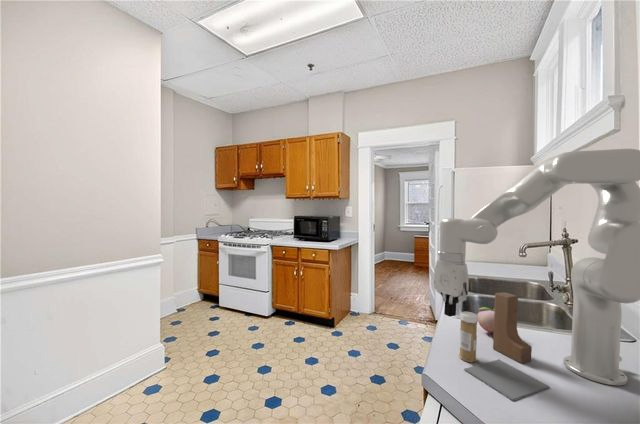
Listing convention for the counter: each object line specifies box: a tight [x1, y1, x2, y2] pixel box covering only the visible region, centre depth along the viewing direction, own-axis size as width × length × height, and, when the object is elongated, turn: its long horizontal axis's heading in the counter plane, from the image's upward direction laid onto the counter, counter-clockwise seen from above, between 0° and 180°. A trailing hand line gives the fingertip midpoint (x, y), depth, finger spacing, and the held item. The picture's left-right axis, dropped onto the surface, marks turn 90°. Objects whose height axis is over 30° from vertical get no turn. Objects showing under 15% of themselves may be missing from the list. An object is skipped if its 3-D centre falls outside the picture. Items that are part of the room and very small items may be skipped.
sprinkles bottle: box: [458, 310, 478, 363], centre depth 82 cm, size 5×5×13 cm
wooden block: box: [492, 291, 533, 364], centre depth 85 cm, size 9×4×18 cm, turn 20°
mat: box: [463, 359, 550, 402], centre depth 73 cm, size 14×13×1 cm
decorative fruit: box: [476, 305, 495, 335], centre depth 100 cm, size 9×8×10 cm
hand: (450, 314), depth 89 cm, fingers closed
